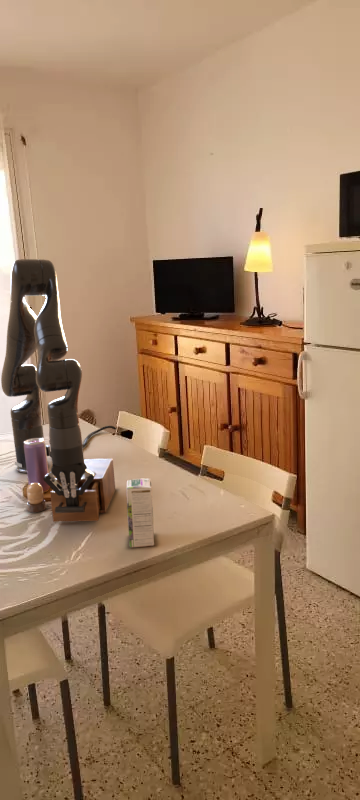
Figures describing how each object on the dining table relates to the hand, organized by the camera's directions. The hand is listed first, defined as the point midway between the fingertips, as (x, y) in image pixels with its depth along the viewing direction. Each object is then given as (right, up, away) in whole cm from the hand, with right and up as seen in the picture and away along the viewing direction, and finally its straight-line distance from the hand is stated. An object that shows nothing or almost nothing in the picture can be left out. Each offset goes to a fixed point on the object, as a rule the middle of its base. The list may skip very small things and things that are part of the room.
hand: (73, 510), depth 150 cm
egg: (-12, -2, +14) cm, 19 cm away
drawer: (0, -2, +8) cm, 8 cm away
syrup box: (+17, -6, -8) cm, 20 cm away
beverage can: (-14, +1, +27) cm, 30 cm away
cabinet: (+1, -1, +17) cm, 17 cm away
